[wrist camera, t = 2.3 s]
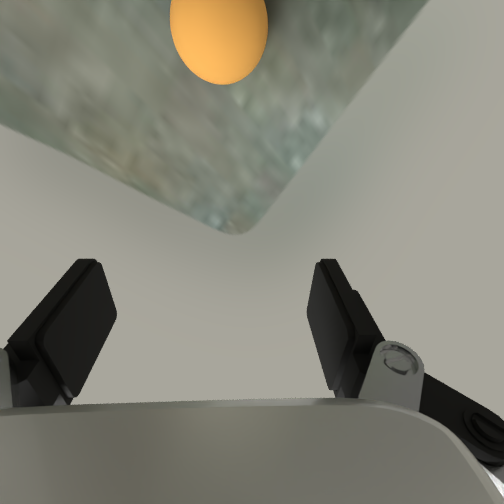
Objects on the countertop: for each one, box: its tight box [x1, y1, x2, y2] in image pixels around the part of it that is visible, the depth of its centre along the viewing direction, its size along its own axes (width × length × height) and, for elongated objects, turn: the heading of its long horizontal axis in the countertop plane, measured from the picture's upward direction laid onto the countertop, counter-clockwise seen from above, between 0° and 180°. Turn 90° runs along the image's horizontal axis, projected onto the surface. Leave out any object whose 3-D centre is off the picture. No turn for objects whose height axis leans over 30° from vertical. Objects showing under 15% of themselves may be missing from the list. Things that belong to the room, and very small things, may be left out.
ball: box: [170, 0, 268, 85], centre depth 17 cm, size 6×6×6 cm
